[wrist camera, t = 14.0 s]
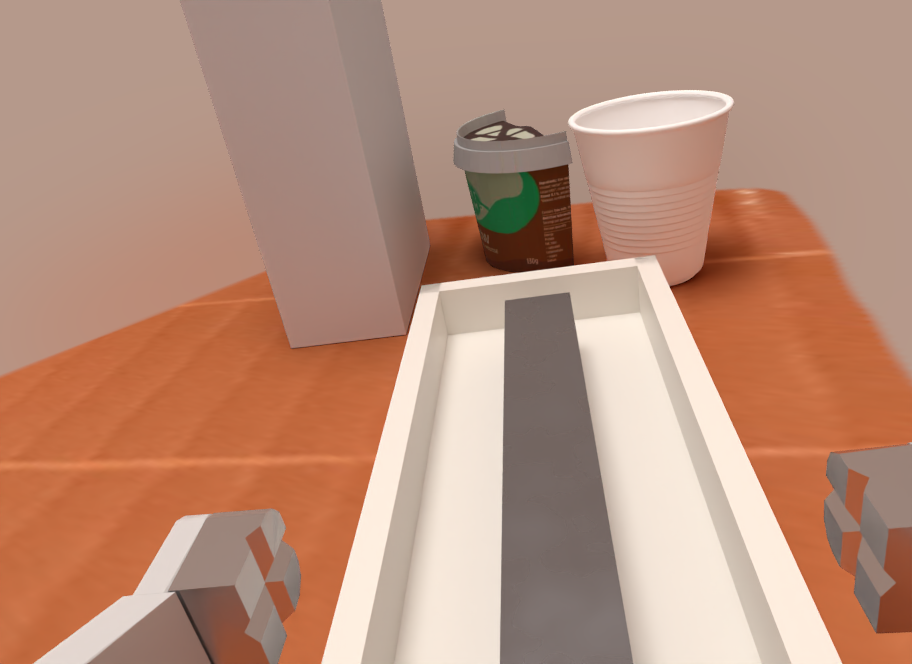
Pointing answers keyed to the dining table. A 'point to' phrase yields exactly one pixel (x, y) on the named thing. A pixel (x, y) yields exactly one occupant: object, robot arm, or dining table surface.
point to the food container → (518, 192)
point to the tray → (623, 477)
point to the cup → (654, 174)
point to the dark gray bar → (553, 501)
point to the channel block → (319, 159)
